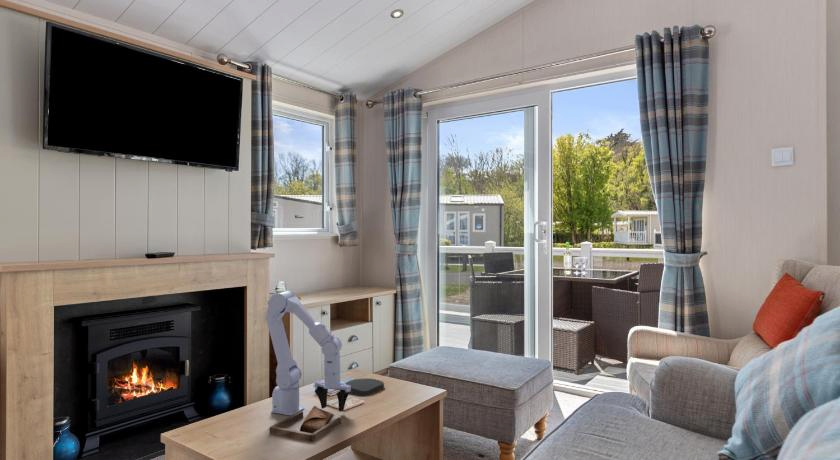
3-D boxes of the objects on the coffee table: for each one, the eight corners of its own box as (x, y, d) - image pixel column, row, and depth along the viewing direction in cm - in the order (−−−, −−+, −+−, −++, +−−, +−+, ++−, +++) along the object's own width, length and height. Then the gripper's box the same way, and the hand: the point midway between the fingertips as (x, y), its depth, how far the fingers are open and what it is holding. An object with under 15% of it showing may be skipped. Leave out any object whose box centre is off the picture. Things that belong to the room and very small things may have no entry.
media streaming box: (365, 397, 202) (365, 390, 202) (338, 391, 210) (338, 384, 210) (387, 388, 214) (387, 380, 214) (361, 382, 222) (361, 375, 222)
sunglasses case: (325, 433, 165) (315, 416, 165) (307, 444, 165) (296, 427, 165) (334, 413, 183) (325, 398, 183) (318, 423, 183) (308, 408, 183)
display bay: (269, 433, 166) (269, 427, 166) (300, 416, 181) (300, 411, 181) (313, 441, 159) (312, 435, 159) (341, 423, 174) (341, 417, 174)
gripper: (309, 372, 183) (309, 409, 183) (342, 376, 177) (343, 415, 177) (320, 367, 190) (321, 403, 190) (353, 371, 184) (354, 409, 184)
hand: (332, 409), depth 184 cm, fingers open, 7 cm apart
